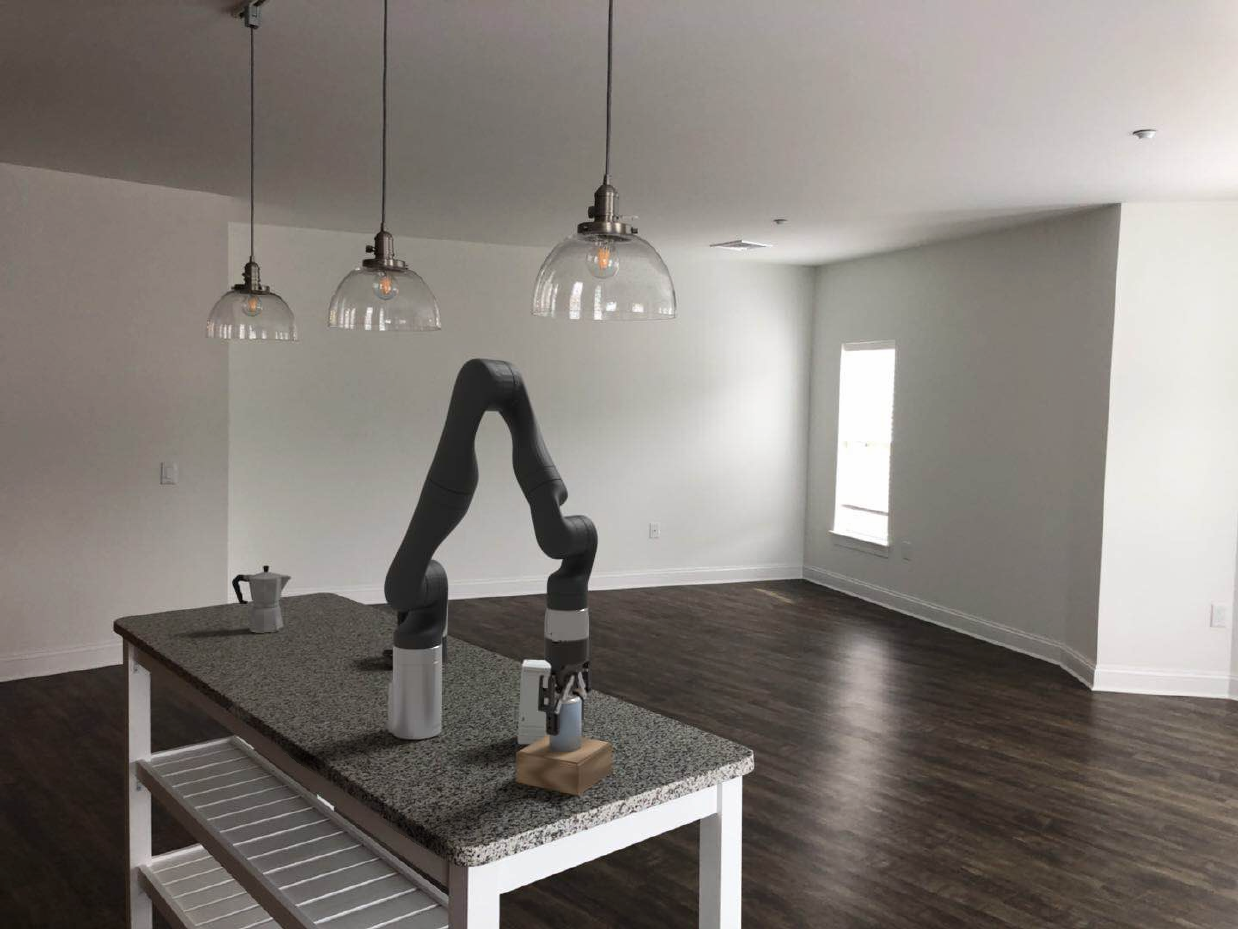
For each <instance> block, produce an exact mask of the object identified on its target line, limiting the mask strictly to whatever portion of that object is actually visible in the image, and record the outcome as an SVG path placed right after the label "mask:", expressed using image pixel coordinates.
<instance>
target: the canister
mask: <svg viewBox="0 0 1238 929" xmlns="http://www.w3.org/2000/svg"><path fill="white" fill-rule="evenodd" d="M555 704H556V700H555ZM555 704H554V706H555ZM581 707H582V700H581V699H580V697H579V696H576V695H572V694H570V693H569V694H568V695H567V698H566V701H565V702H563V703H562V705H561V708H560V711H559V713H560V729H559V734H558V735H556V736H553V735H549V748H550V749H551V750H554V751H558V752H572V751H576V750H579V749H580V748H581V737H582V721H581Z"/></svg>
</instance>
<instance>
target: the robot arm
mask: <svg viewBox="0 0 1238 929" xmlns="http://www.w3.org/2000/svg"><path fill="white" fill-rule="evenodd" d="M485 412H498V414H499V415H500V416H501V418H502V419H503V421H504V422H505V424H506V426H507V428H508V430H509V433H510V437H511V445H512V448H511V449H512V450H511V451H512V452H511V453H512V454H511V462H512V469H513V470H512V471H513V473H514V476H515V479H516V481H517V483H518V485H519V488H520V490H521V492H522V493H523V495H524V498H525V500H526V501H527V503H528V506H529V510H530V514H531V515H530V516H531V520H532V527H533V531H534V536H535V539H536V542H537V544H538V547H539V548H540V550H541V552H543V554H544V555H545V556H547V558H550V559H552V560H558V561H559V560H561V564H560V566H559V568H558V569H557V570H556V571H554V572H552V573H551V574H549V576H548V578H547V582H546V604H545V605H546V608H545V616H544V640H543V641H544V642H543V643H544V645H543V647H544V649H543V650H544V651H543V653H544V654H543V655H544V656H543V659H544V660H545V661H546V662H548V663H549V664H550V665H551V670H550V674H549V675H541V676H540V678H539V696H538V711H542V712H545V713H546V733H547V734H548V735H553V736H556V735H558V734H559V729H560V713H559V711H560V708H561V705H562V703H563V702H565V701H566V698H567V695H568V694H572V695H576V696H579V697H580V699H581V700H582V707H581V722H582V721H584V719H585V700H586V699H587V695H588V694H590V693H591V692H592V689H593V688H592V686H593V684H592V659H589V650H590V649H589V647H590V646H589V643H590V642H589V641H590V632H589V631H590V619H589V618H590V617H589V581H590V577H591V574H592V572H593V567H594V563H595V559H596V555H597V550H598V544H599V536H598V531H597V528H596V525H595V523H594V522H593V521H592V519H591V518H590V517H588V516H586V515H582V514H574V515H567V516H564V515H563V513H562V510H561V506H563V505H564V504H565V503H566V501H567V500H568V498H569V493H568V490H567V489H568V488H567V486H566V484H565V483H564V481H563V478H562V476H561V474H560V473H559V470H558V468H557V466H556V465H555V463H554V460H553V459H552V457H551V455H550V453H549V451H548V448H547V446H546V444H545V441H544V438H543V435H542V432H541V430H540V429H541V428H540V426H539V423H538V420H537V416H536V414H535V411H534V407H533V405H532V402H531V398H530V395H529V392H528V389H527V385H526V383H525V381H524V378H523V375H522V373H521V372H520V370H519V369H518V367H517V366H516V365H515V364H513V363H511V362H509V361H505V360H499V359H488V358H480V357H479V358H471V359H469V360H468V361H466V362H465V363H464V364H463V365H462V366H461V368H460V370H459V372H458V374H457V376H456V379H455V382H454V385H453V389H452V393H451V397H450V401H449V405H448V410H447V414H446V418H445V422H444V426H443V429H442V432H441V435H440V438H439V441H438V444H437V446H436V451H435V454H434V456H433V459H432V462H431V465H430V466H429V469H428V471H427V474H426V477H425V480H424V483H423V485H422V488H421V491H420V494H419V498H418V500H417V504H416V507H415V509H414V512H413V514H412V517H411V519H410V522H409V524H408V527H407V530H406V532H405V535H404V537H403V539H402V541H401V543H400V545H399V547H398V549H397V551H396V553H395V555H394V558H393V560H392V561H391V564H390V565H389V567H388V570H387V572H386V576H385V580H384V585H383V589H384V590H383V592H384V593H383V594H384V598H385V601H386V603H387V604H388V606H389V608H390V609H392V610H393V611H396V612H398V611H399V612H408V611H410V612H409V616H408V617H407V619H406V620H405V621H404V622H403V623H402V624H401V625H400V626H396V628H395V629H394V631H393V634H392V635H393V636H392V644H393V646H392V650H393V665H392V682H390V683H388V709H387V710H388V717H387V718H388V722H387V723H388V731H387V733H390V734H392V735H393V736H395V737H396V738H399V739H404V740H425V739H429V738H433V737H436V736H438V735H439V734H441V733H442V721H443V720H442V717H443V716H442V713H443V712H442V709H443V708H442V707H443V705H442V704H443V702H442V701H443V700H442V699H443V698H442V695H443V693H442V692H443V687H442V686H443V662H442V636H443V633H444V631H445V628H446V622H447V623H448V620H447V606H448V607H449V602H448V600H449V580H448V579H449V578H448V575H447V572H446V570H445V568H444V567H443V565H442V564H441V563H440V562H438V560H435V559H433V556H434V555H435V553H436V551H437V549H438V548H439V547H440V546H441V544H442V543H443V542H444V541H445V539H447V538H448V537H449V536H450V534H451V533H452V532H453V531H454V530H455V529H456V528H457V527H458V526H459V524H460V523H461V522H462V520H463V519H464V518H465V516H466V515H467V513H468V511H469V509H470V507H471V504H472V500H473V499H474V495H475V492H476V490H477V487H478V483H479V477H480V476H479V474H480V473H479V465H478V464H479V463H478V459H477V454H476V448H475V447H476V444H475V441H476V437H477V433H478V430H479V426H480V424H481V422H482V419H483V417H484V414H485ZM584 681H585V682H584ZM555 692H556V694H555ZM544 698H547V699H546V702H545V704H544ZM555 700H556V704H555ZM554 704H555V706H554Z"/></svg>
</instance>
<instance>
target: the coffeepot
mask: <svg viewBox="0 0 1238 929" xmlns="http://www.w3.org/2000/svg"><path fill="white" fill-rule="evenodd" d="M262 568H263V569H262V570H263V571H262V572H259V573H255V574H237V575H236V576H235V577H234V578H233V579H232V581H231V585H232V588H233V590H234V592H235V595H236V598H237V600H238V603H239V604H240V605H248V602H249V601H248V600H244V598H243V596H244V595H243V593H242V591H241V585H240V583H239V582H244V583H245V582H246V583H248V584H249V586H248V587H249V590H250V592H249V593H250V597H251V601H253V603H252V604H253V607H251V612H250V618H249V623H248V628H250V629H251V630H256V631H268V630H276V629H279V628H281V627H284V622H283V616H282V611H281V606H280V602H279V601H280V600H281V598H282V592H283V590H284V588H285V587H286V585H287V583H288V582H289V580H291V579H292V577H291V576H290V575H286V574H281V573H276V572H271V571H270V570H269V569H270V566H269V565H263V566H262Z"/></svg>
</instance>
